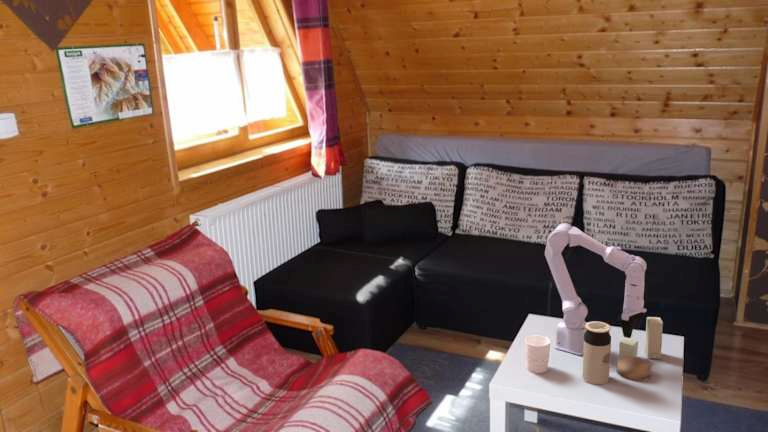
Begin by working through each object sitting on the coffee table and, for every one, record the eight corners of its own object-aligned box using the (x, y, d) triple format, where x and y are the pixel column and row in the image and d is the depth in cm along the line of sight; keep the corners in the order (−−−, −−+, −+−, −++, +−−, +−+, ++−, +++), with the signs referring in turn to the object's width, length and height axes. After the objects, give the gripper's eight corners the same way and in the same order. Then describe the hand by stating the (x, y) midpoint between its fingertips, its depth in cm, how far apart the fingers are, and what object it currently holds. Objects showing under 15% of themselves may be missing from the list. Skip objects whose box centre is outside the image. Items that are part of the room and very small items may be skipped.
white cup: (552, 365, 211) (552, 337, 208) (545, 376, 204) (546, 348, 201) (528, 360, 214) (528, 333, 212) (521, 371, 208) (522, 343, 205)
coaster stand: (612, 374, 203) (612, 366, 202) (623, 362, 211) (624, 354, 210) (644, 384, 197) (644, 375, 196) (654, 370, 204) (655, 362, 204)
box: (661, 359, 211) (663, 323, 208) (646, 358, 212) (649, 322, 209) (657, 352, 216) (660, 316, 213) (643, 351, 217) (646, 316, 214)
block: (618, 358, 213) (619, 342, 212) (623, 353, 217) (624, 337, 215) (632, 362, 210) (633, 345, 209) (637, 357, 214) (638, 340, 212)
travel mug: (576, 376, 203) (578, 324, 199) (596, 370, 206) (598, 318, 202) (594, 387, 196) (597, 333, 192) (614, 381, 199) (617, 328, 195)
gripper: (638, 304, 199) (635, 344, 203) (654, 290, 210) (651, 328, 213) (616, 299, 203) (613, 338, 207) (632, 285, 214) (630, 323, 218)
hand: (631, 332), depth 210 cm, fingers open, 7 cm apart
